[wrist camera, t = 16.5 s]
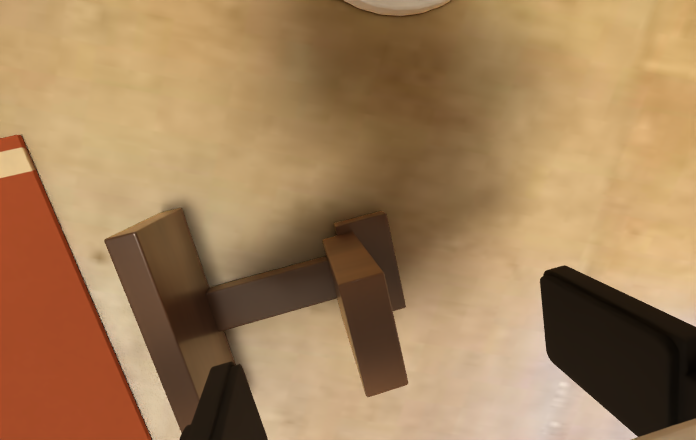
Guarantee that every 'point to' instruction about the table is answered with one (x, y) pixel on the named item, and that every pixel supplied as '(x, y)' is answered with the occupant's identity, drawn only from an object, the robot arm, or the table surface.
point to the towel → (51, 326)
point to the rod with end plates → (256, 301)
